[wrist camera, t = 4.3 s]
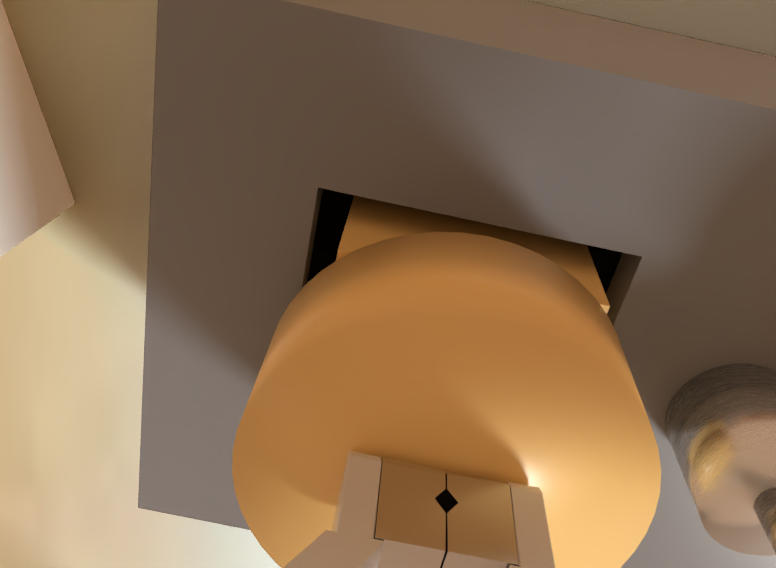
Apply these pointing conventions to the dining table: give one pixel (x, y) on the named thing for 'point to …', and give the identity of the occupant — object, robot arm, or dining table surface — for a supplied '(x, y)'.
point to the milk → (25, 152)
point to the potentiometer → (729, 453)
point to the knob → (450, 383)
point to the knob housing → (448, 197)
